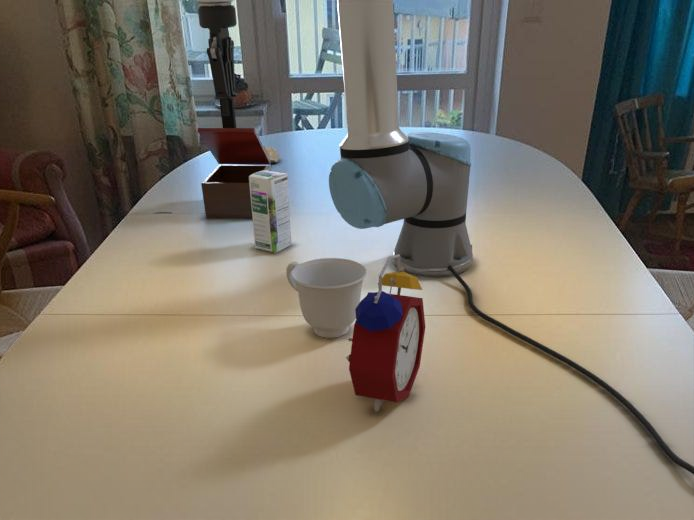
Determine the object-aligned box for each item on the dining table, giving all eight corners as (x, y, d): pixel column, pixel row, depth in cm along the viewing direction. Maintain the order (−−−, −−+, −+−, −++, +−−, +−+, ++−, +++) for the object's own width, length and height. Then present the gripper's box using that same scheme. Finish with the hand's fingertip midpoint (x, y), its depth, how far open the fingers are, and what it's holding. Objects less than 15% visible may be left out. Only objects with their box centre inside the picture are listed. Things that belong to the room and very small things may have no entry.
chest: (259, 219, 167) (256, 183, 162) (205, 218, 168) (201, 183, 163) (273, 198, 179) (270, 164, 174) (223, 197, 180) (219, 164, 176)
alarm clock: (392, 424, 98) (395, 281, 86) (332, 413, 101) (327, 272, 88) (424, 373, 109) (431, 239, 97) (369, 364, 111) (369, 232, 99)
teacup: (314, 304, 129) (311, 248, 123) (382, 326, 121) (382, 268, 115) (266, 329, 122) (261, 270, 116) (335, 354, 114) (333, 293, 108)
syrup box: (254, 248, 152) (246, 175, 143) (271, 240, 156) (265, 168, 147) (275, 253, 149) (269, 179, 140) (293, 244, 153) (288, 172, 144)
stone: (242, 159, 209) (240, 142, 207) (279, 158, 210) (277, 141, 207) (240, 167, 203) (238, 149, 200) (277, 166, 203) (276, 148, 200)
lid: (254, 131, 158) (254, 127, 158) (197, 131, 159) (197, 127, 159) (270, 164, 174) (270, 161, 174) (218, 164, 175) (218, 160, 175)
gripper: (225, 6, 142) (239, 138, 156) (241, 0, 152) (253, 124, 166) (188, 7, 142) (205, 138, 157) (206, 1, 153) (221, 124, 167)
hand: (230, 131), depth 161 cm, fingers closed
